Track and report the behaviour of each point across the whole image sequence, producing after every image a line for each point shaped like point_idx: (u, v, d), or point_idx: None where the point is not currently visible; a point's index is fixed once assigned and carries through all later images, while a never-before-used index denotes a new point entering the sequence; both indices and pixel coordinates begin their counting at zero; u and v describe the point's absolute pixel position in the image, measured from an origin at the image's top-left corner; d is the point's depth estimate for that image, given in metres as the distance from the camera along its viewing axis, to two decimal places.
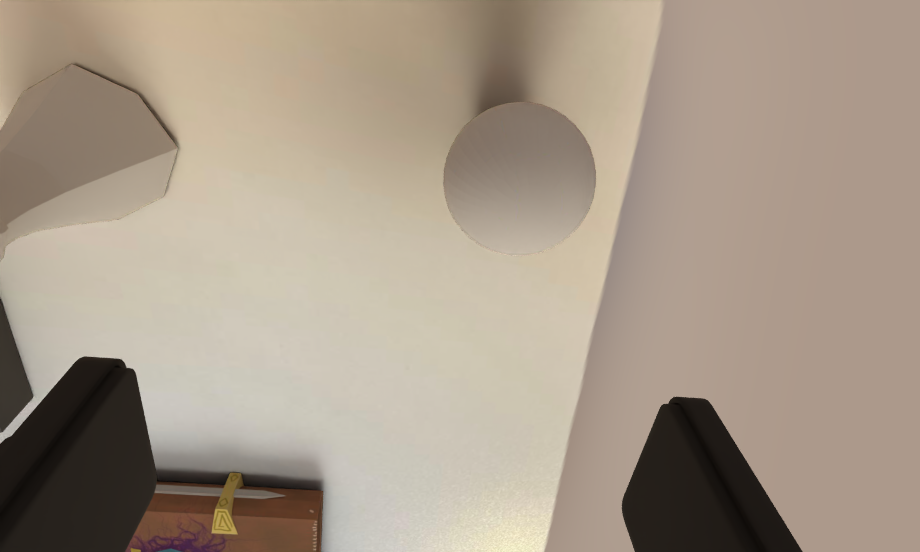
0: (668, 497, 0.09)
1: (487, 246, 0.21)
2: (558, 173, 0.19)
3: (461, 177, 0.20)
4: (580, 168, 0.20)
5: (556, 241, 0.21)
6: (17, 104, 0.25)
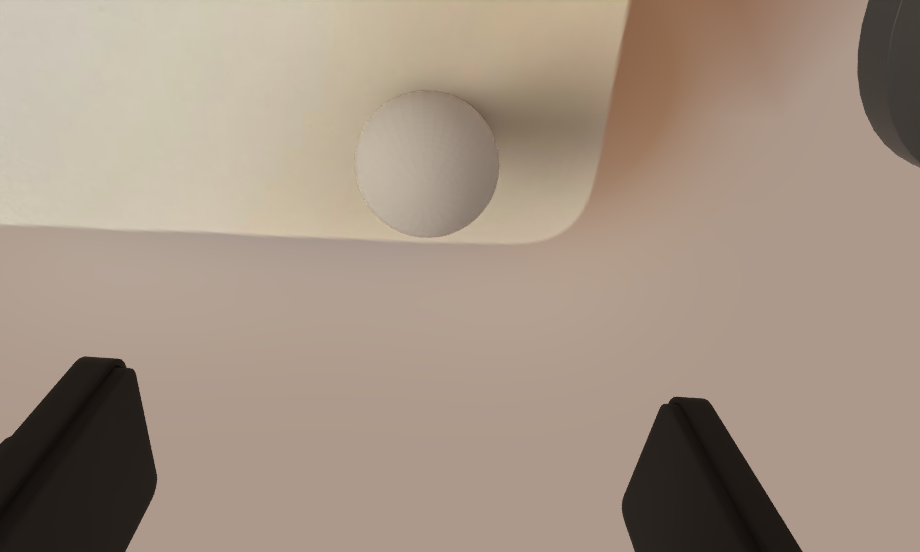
0: (668, 497, 0.09)
1: (372, 148, 0.21)
2: (458, 212, 0.21)
3: (446, 119, 0.20)
4: (457, 227, 0.22)
5: (386, 215, 0.22)
6: None
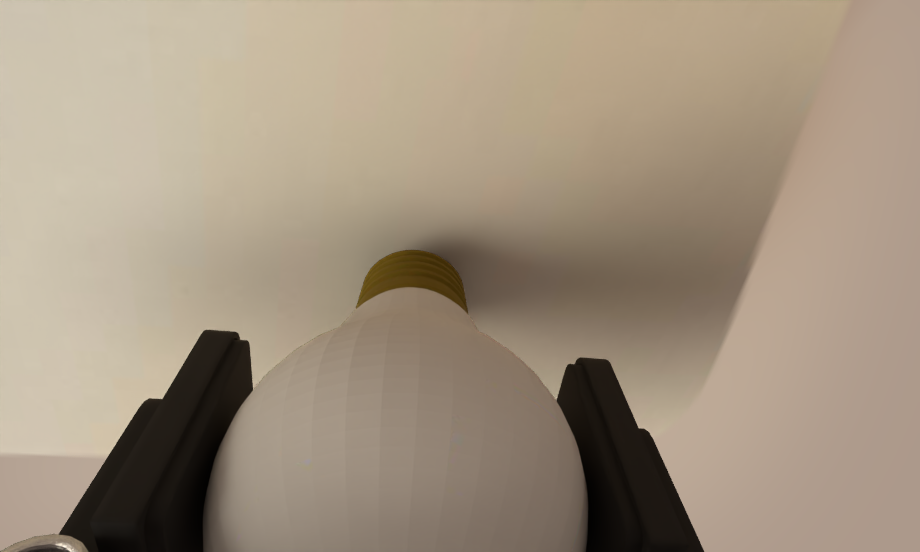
0: None
1: None
2: None
3: (451, 480, 0.06)
4: None
5: None
6: None
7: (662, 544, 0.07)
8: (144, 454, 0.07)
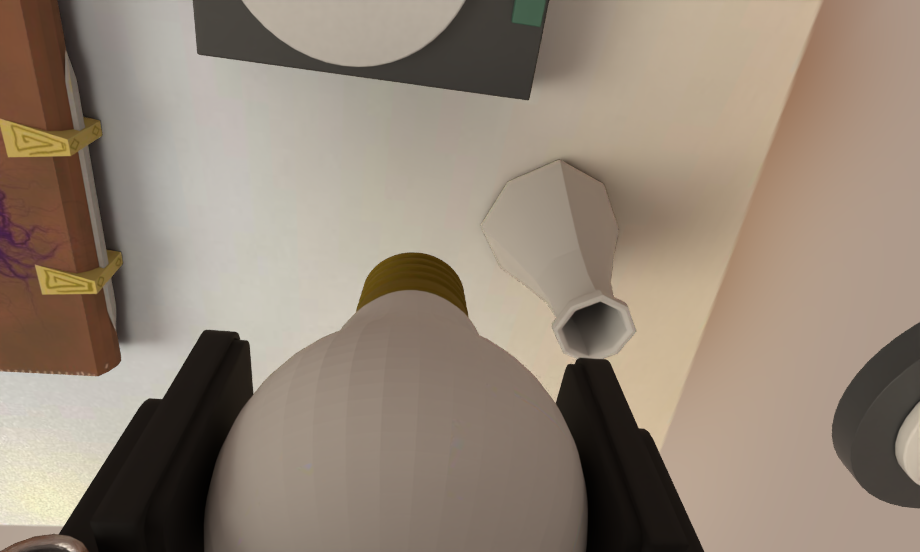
0: None
1: None
2: None
3: (451, 485, 0.07)
4: None
5: None
6: (605, 204, 0.28)
7: (662, 544, 0.07)
8: (144, 454, 0.07)
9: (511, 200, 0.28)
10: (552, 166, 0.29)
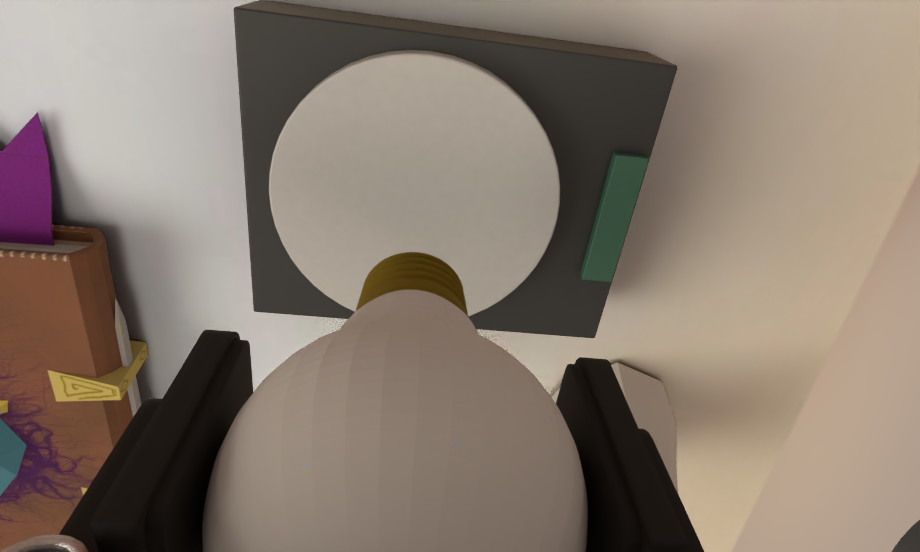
0: None
1: None
2: None
3: (450, 484, 0.07)
4: None
5: None
6: (665, 409, 0.28)
7: (662, 544, 0.07)
8: (144, 454, 0.07)
9: None
10: None
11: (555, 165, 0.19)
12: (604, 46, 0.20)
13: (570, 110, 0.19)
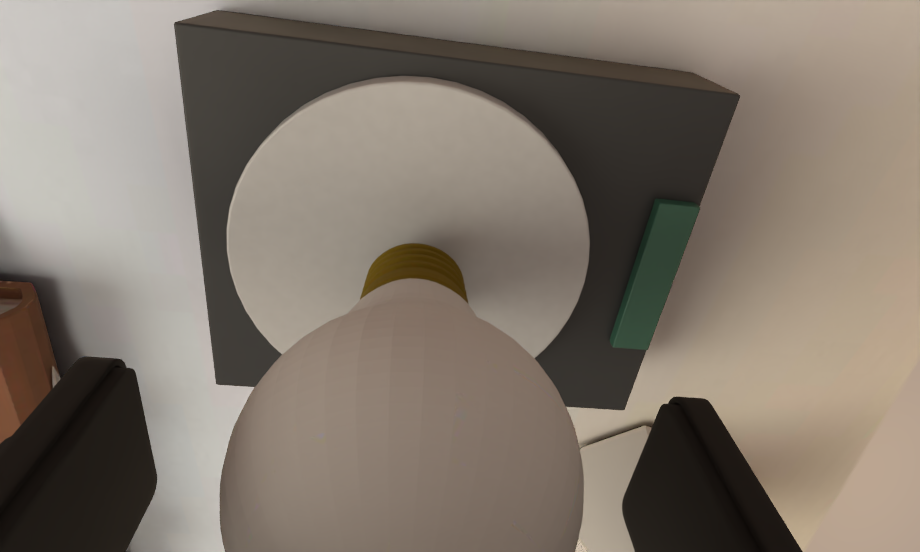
0: (668, 497, 0.09)
1: (246, 522, 0.07)
2: None
3: (455, 452, 0.07)
4: None
5: None
6: None
7: None
8: None
9: (588, 477, 0.24)
10: (637, 435, 0.24)
11: (584, 217, 0.15)
12: (642, 66, 0.17)
13: (603, 148, 0.15)
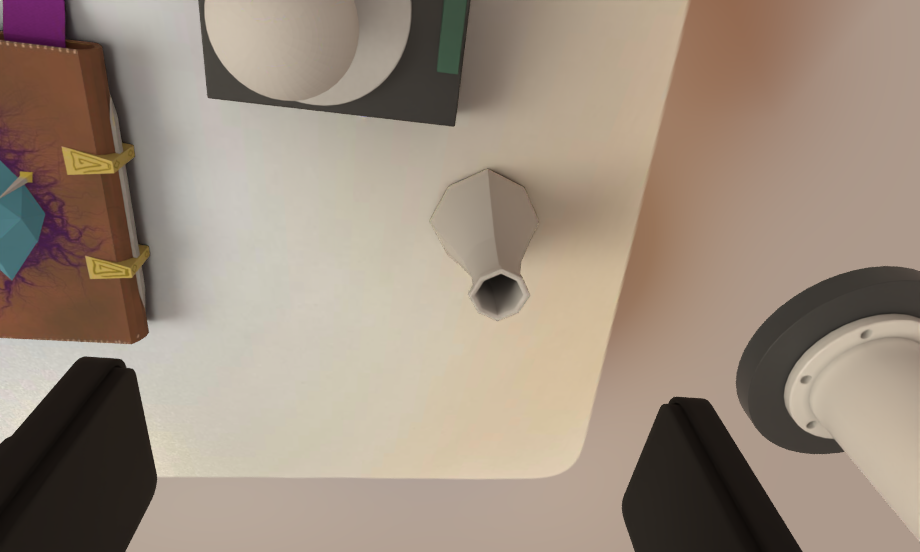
0: (668, 497, 0.09)
1: None
2: (305, 59, 0.21)
3: None
4: (310, 82, 0.22)
5: (234, 65, 0.21)
6: (523, 203, 0.37)
7: None
8: None
9: (450, 201, 0.37)
10: (481, 174, 0.37)
11: None
12: None
13: None
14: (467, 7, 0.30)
